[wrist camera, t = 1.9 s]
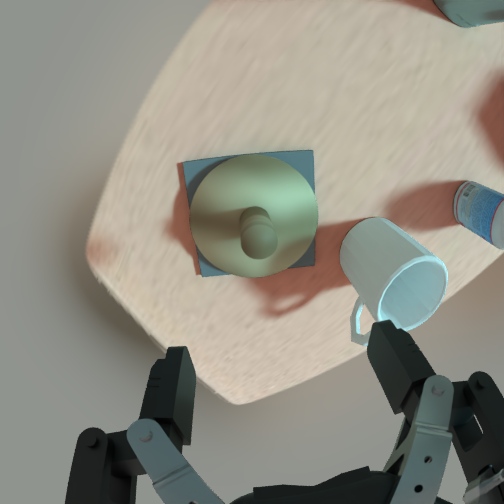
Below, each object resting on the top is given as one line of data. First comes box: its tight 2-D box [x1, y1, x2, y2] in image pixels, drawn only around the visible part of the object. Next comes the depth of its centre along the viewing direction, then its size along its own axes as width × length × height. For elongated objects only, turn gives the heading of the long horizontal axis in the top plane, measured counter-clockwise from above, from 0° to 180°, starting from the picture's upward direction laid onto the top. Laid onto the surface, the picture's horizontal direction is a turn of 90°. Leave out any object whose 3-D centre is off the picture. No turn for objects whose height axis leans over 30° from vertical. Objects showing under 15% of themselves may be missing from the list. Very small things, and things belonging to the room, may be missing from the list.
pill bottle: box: [454, 181, 504, 249], centre depth 23 cm, size 6×6×11 cm
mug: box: [340, 217, 448, 346], centre depth 26 cm, size 8×12×10 cm
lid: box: [190, 154, 318, 278], centre depth 24 cm, size 12×12×6 cm
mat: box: [183, 150, 315, 277], centre depth 27 cm, size 12×12×1 cm
